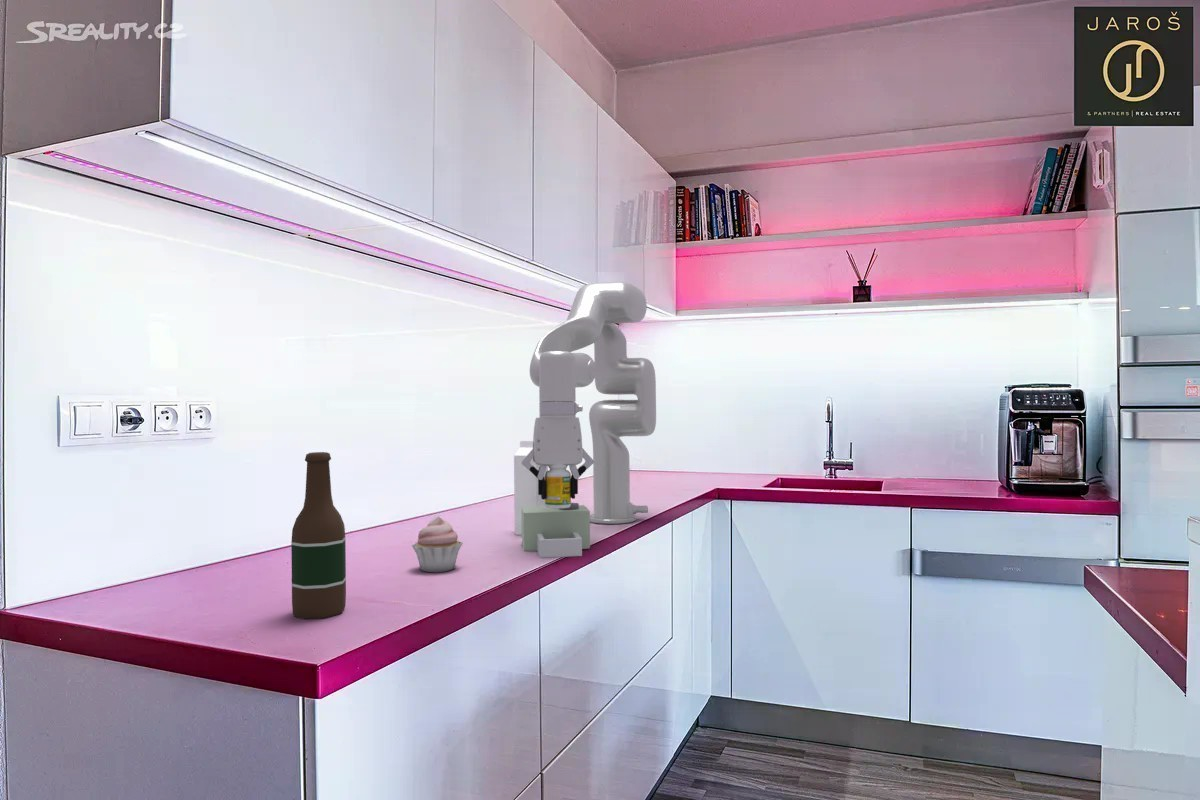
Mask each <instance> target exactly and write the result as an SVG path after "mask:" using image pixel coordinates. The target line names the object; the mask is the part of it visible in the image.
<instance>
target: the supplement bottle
mask: <svg viewBox="0 0 1200 800" xmlns="http://www.w3.org/2000/svg"><path fill="white" fill-rule="evenodd" d="M568 467H569V465H563V464H560V463H558V464H555V465H552V466H548V471H547V472H546V473H545V480H546V499H545V506H546V507H547V508H569V507H570V506H571V503H572V498H571V475H572V474H571V471H570V470H568V469H567V468H568Z"/></svg>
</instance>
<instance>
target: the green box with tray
mask: <svg viewBox="0 0 1200 800" xmlns="http://www.w3.org/2000/svg"><path fill="white" fill-rule="evenodd" d="M590 515H591V510H589V508H587V506H586V505H584V504H579V502H571V506H570V507H569V508H547V507H546V506H543V507H522V535H521V545H522V549H523V552H531V551H532V552H534V551H535V552H537V553H538V556H539V558H540V559H542V558H543V559H545V558H557V557H558V558H561V557H562V558H565V557H568V558H569V557H582V556H583V550H584V549H585V550H586V549H590V548H591V522H590Z"/></svg>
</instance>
